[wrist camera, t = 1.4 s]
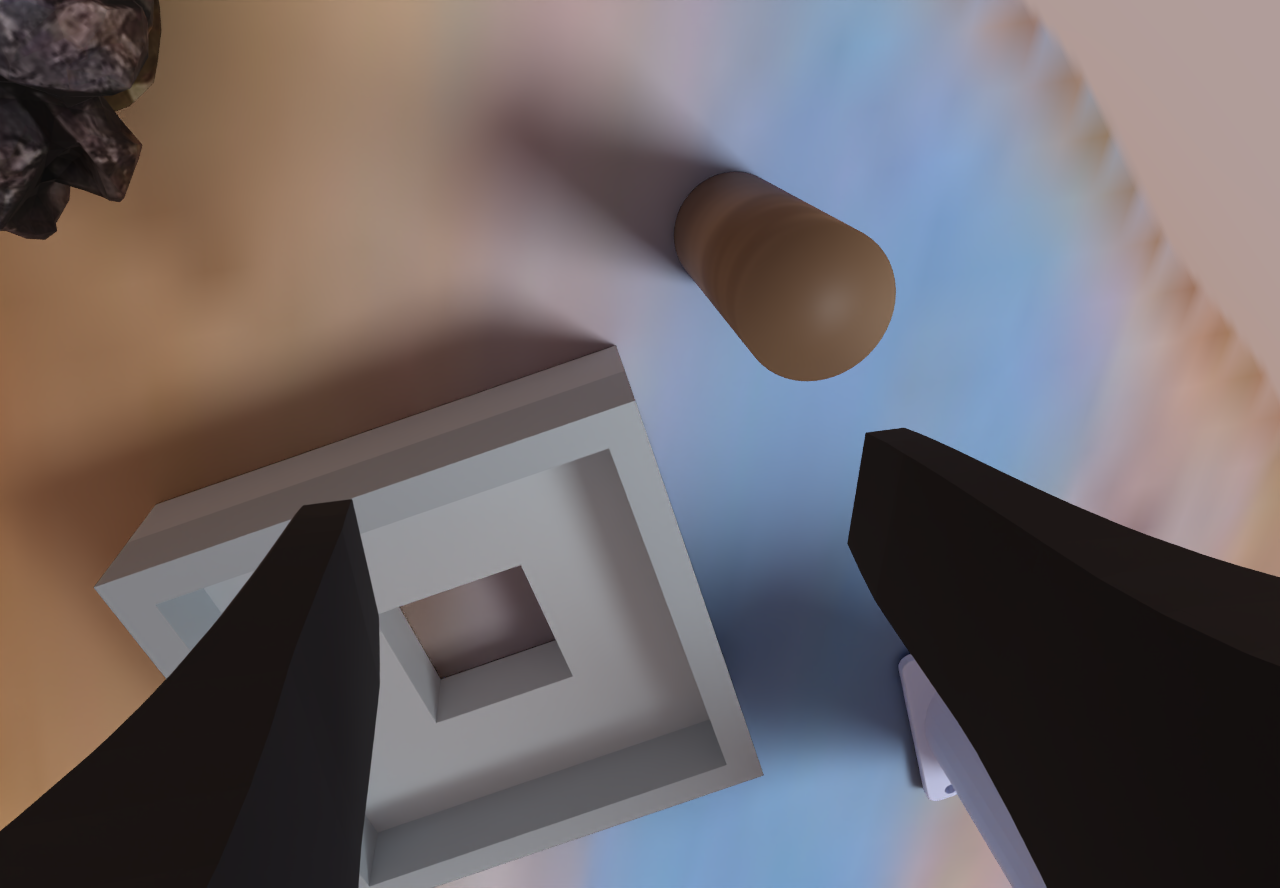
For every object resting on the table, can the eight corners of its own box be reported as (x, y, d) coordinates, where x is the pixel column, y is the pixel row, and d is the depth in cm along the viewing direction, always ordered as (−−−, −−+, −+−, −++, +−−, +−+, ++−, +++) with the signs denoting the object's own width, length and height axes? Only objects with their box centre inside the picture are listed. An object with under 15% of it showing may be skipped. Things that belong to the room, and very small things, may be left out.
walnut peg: (773, 154, 22) (882, 201, 16) (798, 268, 23) (906, 351, 17) (659, 194, 22) (723, 256, 16) (691, 305, 23) (760, 402, 17)
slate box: (615, 345, 24) (635, 400, 20) (733, 687, 30) (763, 775, 26) (155, 504, 24) (93, 587, 20) (371, 811, 30) (353, 914, 27)
